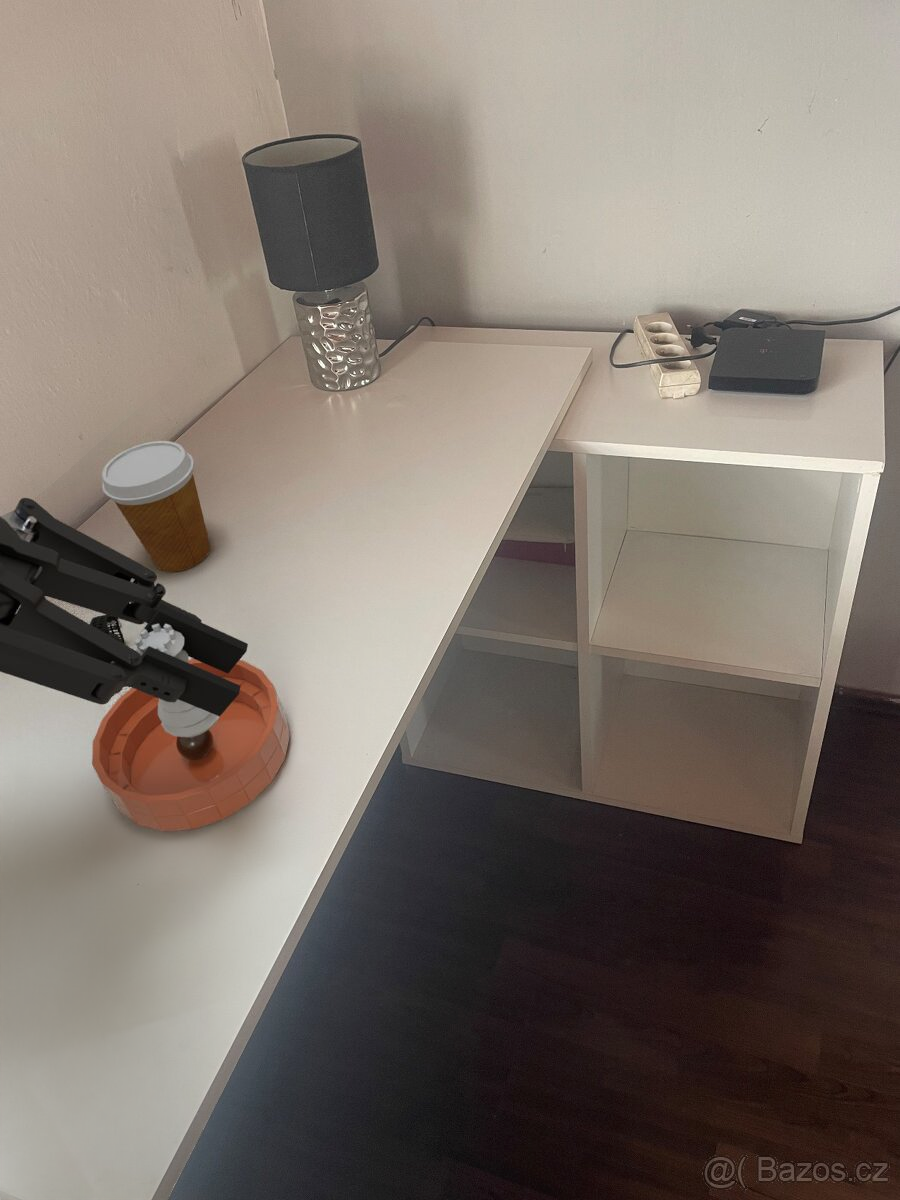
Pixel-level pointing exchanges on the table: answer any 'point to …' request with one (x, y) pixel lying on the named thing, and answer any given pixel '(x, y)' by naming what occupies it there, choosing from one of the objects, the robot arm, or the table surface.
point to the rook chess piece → (180, 714)
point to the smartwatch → (102, 625)
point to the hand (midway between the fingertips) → (233, 679)
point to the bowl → (191, 787)
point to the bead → (195, 746)
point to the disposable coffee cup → (160, 502)
